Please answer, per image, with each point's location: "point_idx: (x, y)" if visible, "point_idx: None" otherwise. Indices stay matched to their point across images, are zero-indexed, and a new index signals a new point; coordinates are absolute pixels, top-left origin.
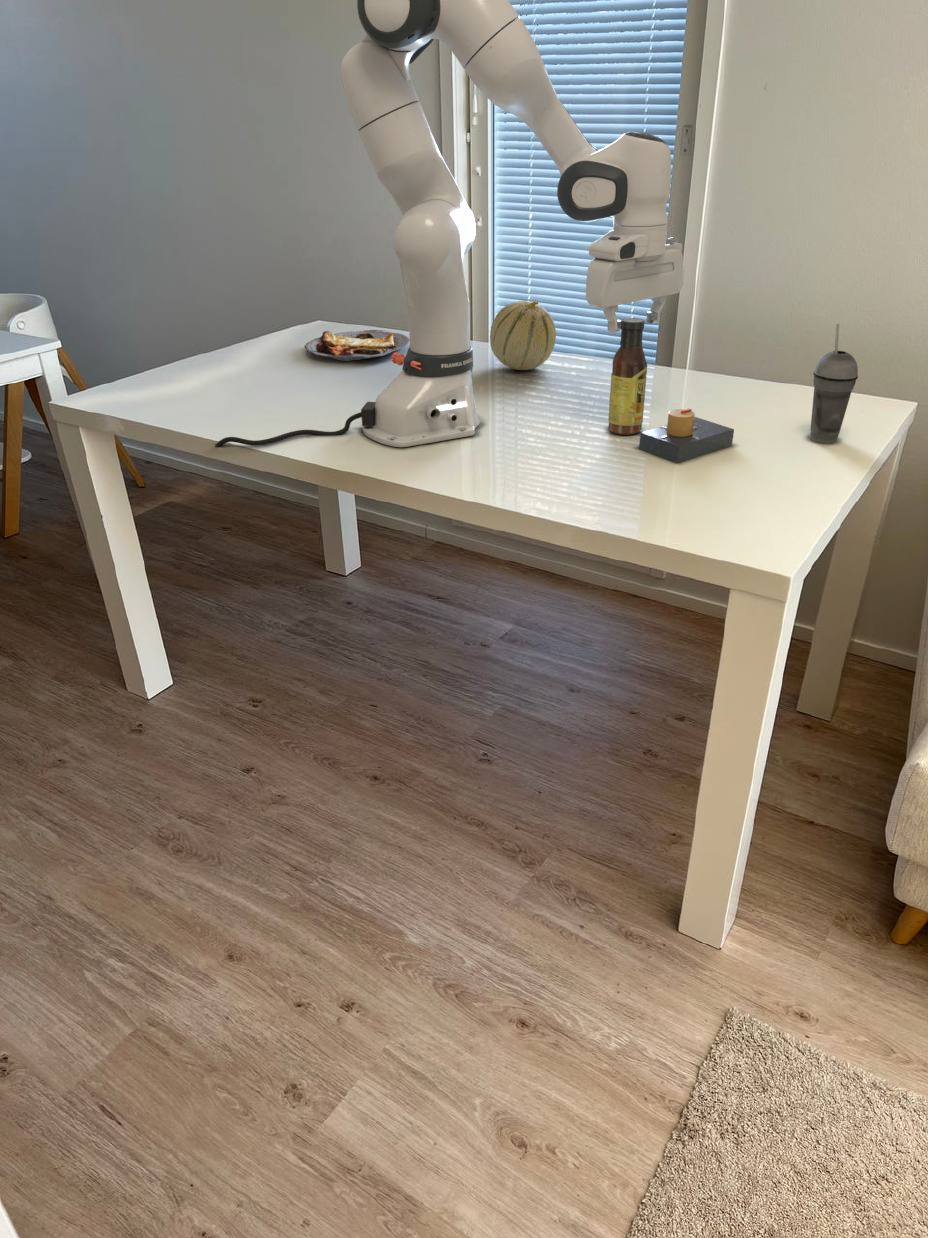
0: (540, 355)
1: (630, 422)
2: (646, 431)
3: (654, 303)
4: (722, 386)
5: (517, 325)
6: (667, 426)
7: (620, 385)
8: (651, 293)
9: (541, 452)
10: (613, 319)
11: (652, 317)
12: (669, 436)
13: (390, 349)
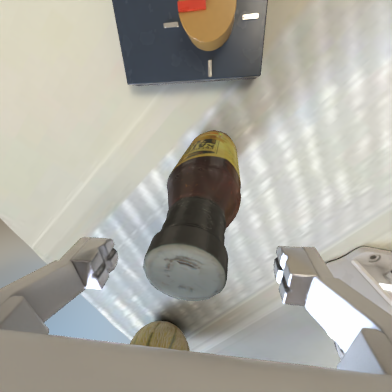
0: (159, 330)
1: (224, 135)
2: (248, 72)
3: (47, 310)
4: (14, 196)
5: None
6: (229, 33)
7: (238, 170)
8: (54, 379)
9: (366, 157)
10: (353, 290)
11: (101, 254)
12: (239, 16)
13: None
